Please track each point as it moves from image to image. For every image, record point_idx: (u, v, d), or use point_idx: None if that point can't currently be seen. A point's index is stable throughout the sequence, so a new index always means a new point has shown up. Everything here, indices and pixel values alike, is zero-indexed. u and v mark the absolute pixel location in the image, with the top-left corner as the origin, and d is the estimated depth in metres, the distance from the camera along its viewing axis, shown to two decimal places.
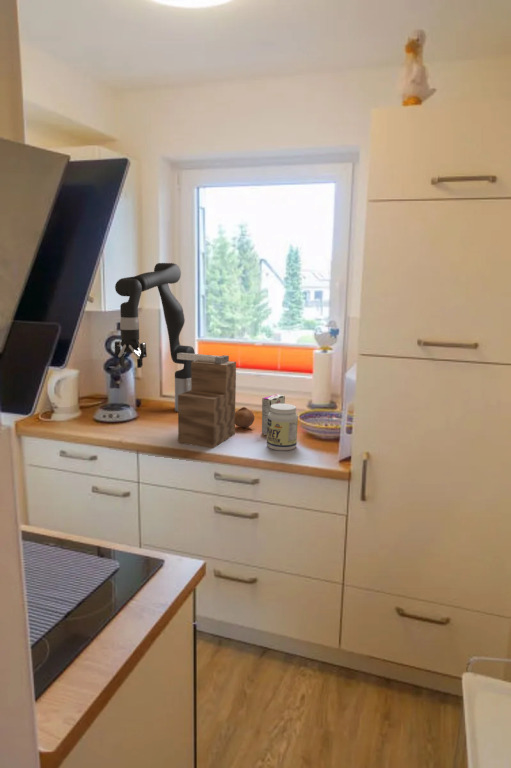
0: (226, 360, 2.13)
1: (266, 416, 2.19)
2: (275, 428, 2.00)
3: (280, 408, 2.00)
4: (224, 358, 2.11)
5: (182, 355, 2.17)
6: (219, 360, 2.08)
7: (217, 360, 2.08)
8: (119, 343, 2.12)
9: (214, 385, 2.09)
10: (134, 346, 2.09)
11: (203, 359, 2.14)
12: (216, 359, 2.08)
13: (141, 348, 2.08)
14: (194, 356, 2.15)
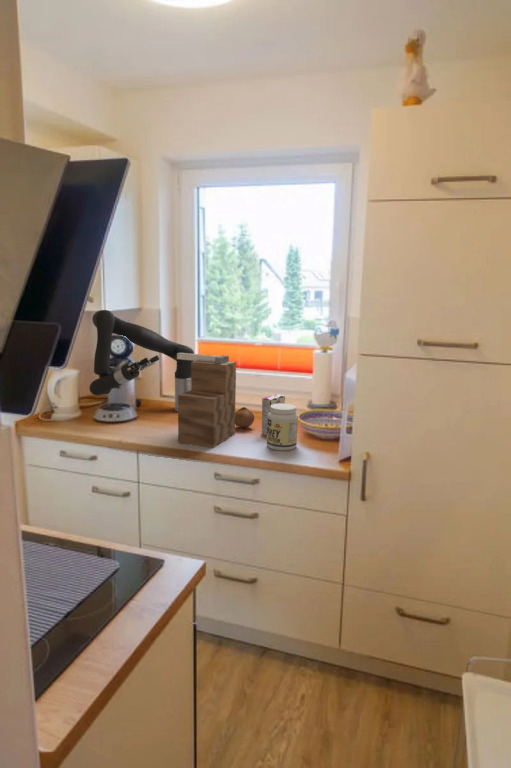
0: (226, 360, 2.13)
1: (266, 416, 2.19)
2: (275, 428, 2.00)
3: (280, 408, 2.00)
4: (224, 358, 2.11)
5: (182, 355, 2.17)
6: (219, 360, 2.08)
7: (217, 360, 2.08)
8: None
9: (214, 385, 2.09)
10: (135, 369, 2.25)
11: (203, 359, 2.14)
12: (216, 359, 2.08)
13: (132, 370, 2.22)
14: (194, 356, 2.15)
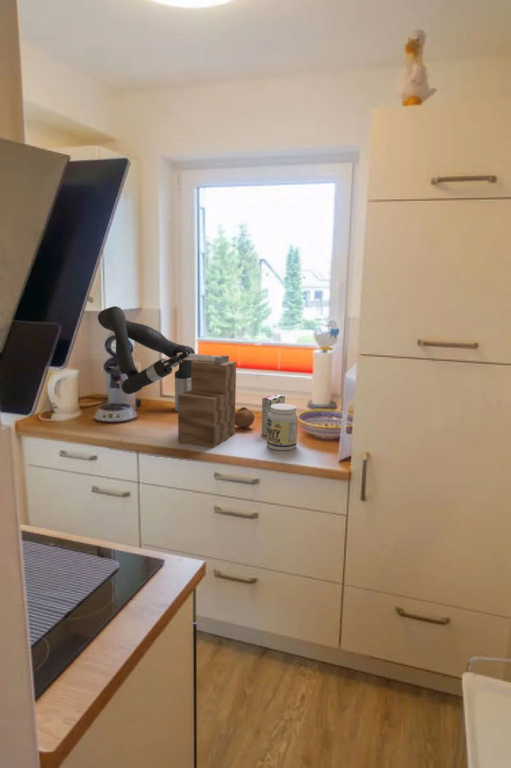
0: (226, 360, 2.13)
1: (266, 416, 2.19)
2: (275, 428, 2.00)
3: (280, 408, 2.00)
4: (224, 358, 2.11)
5: None
6: (219, 360, 2.08)
7: (217, 360, 2.08)
8: None
9: (214, 385, 2.09)
10: (170, 365, 2.18)
11: (203, 359, 2.14)
12: (216, 359, 2.08)
13: (169, 365, 2.16)
14: (194, 356, 2.15)
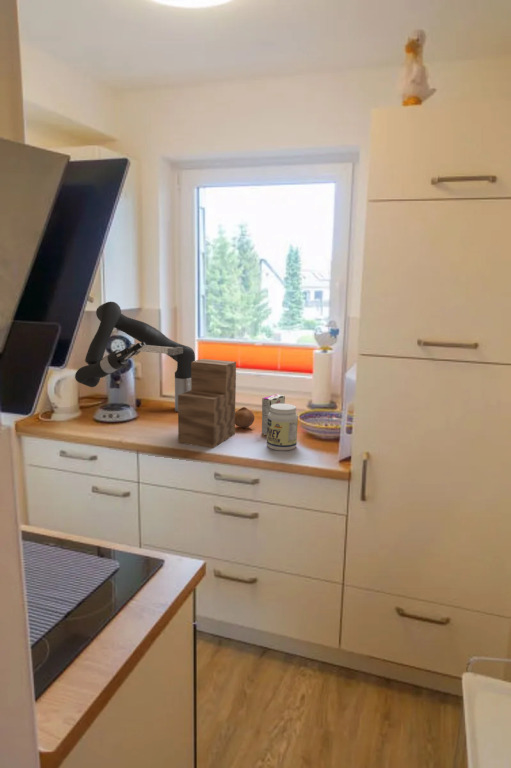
0: (180, 351, 2.08)
1: (266, 416, 2.19)
2: (275, 428, 2.00)
3: (280, 408, 2.00)
4: (177, 349, 2.05)
5: None
6: (172, 352, 2.02)
7: (169, 351, 2.02)
8: None
9: (214, 385, 2.09)
10: (124, 356, 2.13)
11: (156, 350, 2.08)
12: (168, 350, 2.02)
13: (122, 356, 2.10)
14: (147, 347, 2.09)
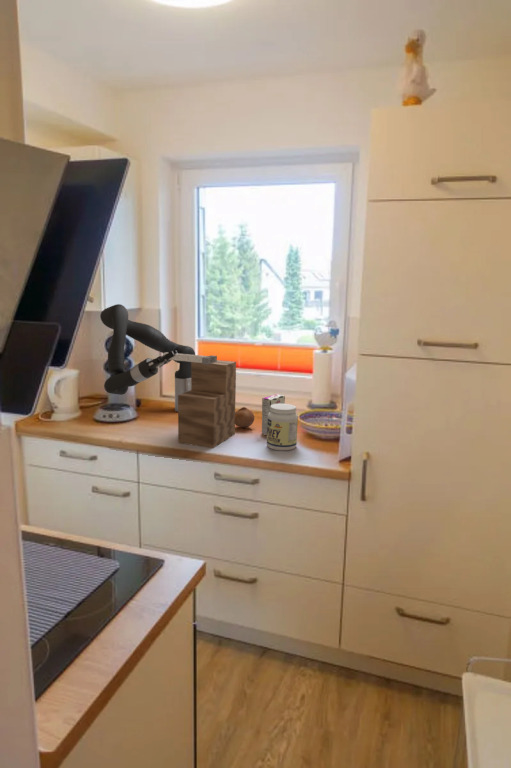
0: (214, 360, 2.03)
1: (266, 416, 2.19)
2: (275, 428, 2.00)
3: (280, 408, 2.00)
4: (212, 358, 2.00)
5: None
6: (207, 361, 1.97)
7: (204, 360, 1.97)
8: None
9: (214, 385, 2.09)
10: (156, 365, 2.08)
11: (190, 359, 2.03)
12: (203, 359, 1.97)
13: (154, 365, 2.05)
14: (180, 356, 2.04)
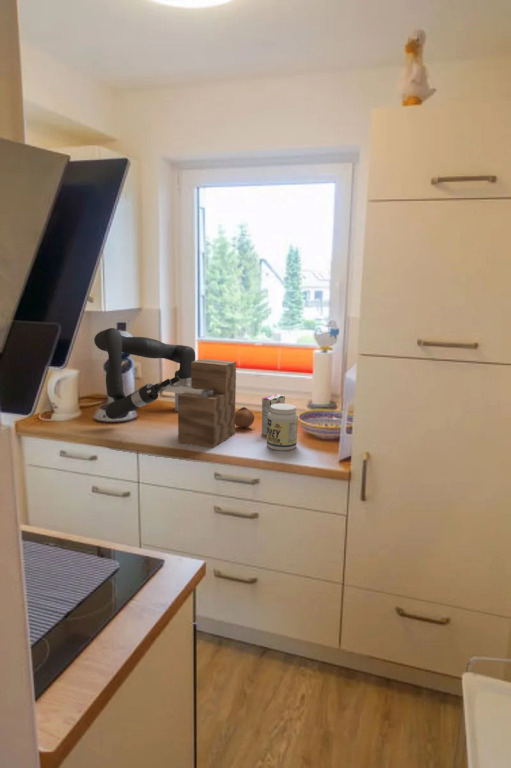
0: (214, 393, 2.05)
1: (266, 416, 2.19)
2: (275, 428, 2.00)
3: (280, 408, 2.00)
4: (211, 391, 2.03)
5: (168, 387, 2.09)
6: (206, 394, 2.00)
7: (203, 394, 2.00)
8: None
9: (214, 385, 2.09)
10: (155, 392, 2.10)
11: (189, 392, 2.05)
12: (202, 393, 2.00)
13: (152, 392, 2.06)
14: (180, 388, 2.07)
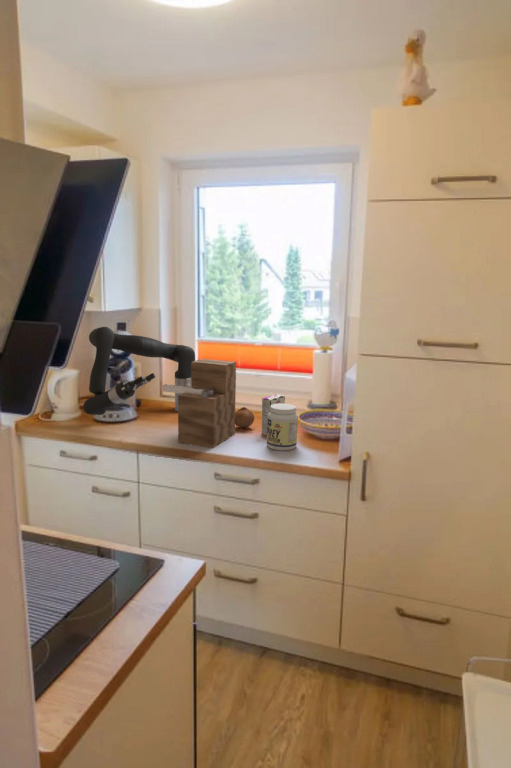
0: (214, 393, 2.05)
1: (266, 416, 2.19)
2: (275, 428, 2.00)
3: (280, 408, 2.00)
4: (211, 391, 2.03)
5: (168, 387, 2.09)
6: (206, 394, 2.00)
7: (203, 394, 2.00)
8: None
9: (214, 385, 2.09)
10: (130, 388, 2.14)
11: (189, 392, 2.05)
12: (202, 393, 2.00)
13: (126, 390, 2.11)
14: (180, 388, 2.07)
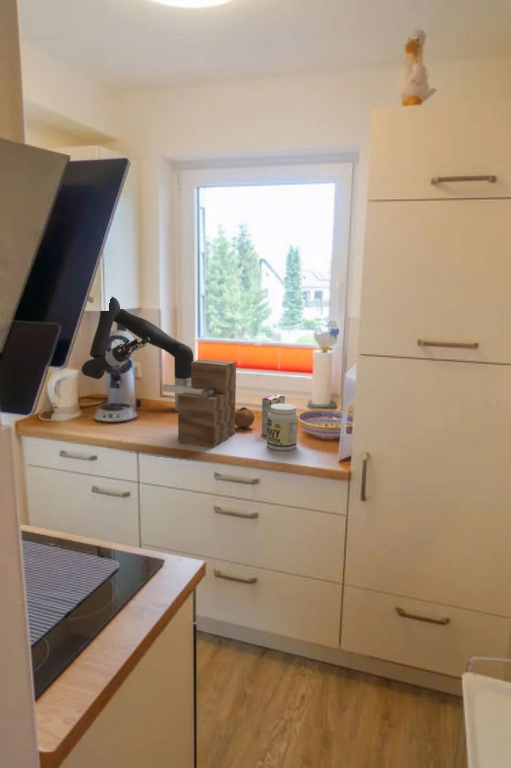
0: (214, 393, 2.05)
1: (266, 416, 2.19)
2: (275, 428, 2.00)
3: (280, 408, 2.00)
4: (211, 391, 2.03)
5: (168, 387, 2.09)
6: (206, 394, 2.00)
7: (203, 394, 2.00)
8: None
9: (214, 385, 2.09)
10: (126, 351, 2.27)
11: (189, 392, 2.05)
12: (202, 393, 2.00)
13: (122, 351, 2.23)
14: (180, 388, 2.07)
